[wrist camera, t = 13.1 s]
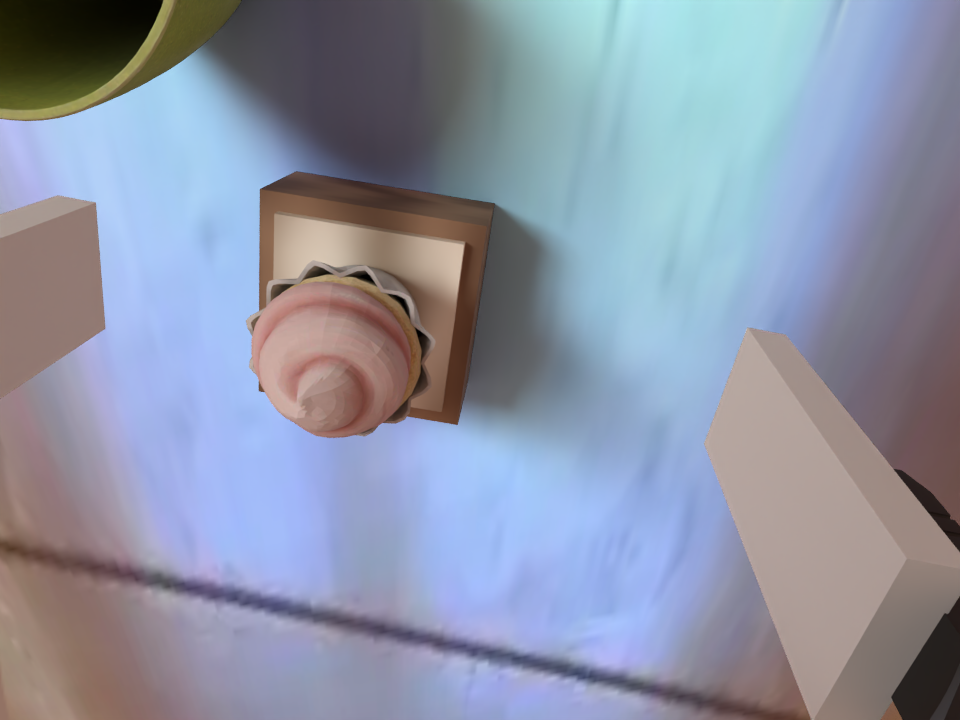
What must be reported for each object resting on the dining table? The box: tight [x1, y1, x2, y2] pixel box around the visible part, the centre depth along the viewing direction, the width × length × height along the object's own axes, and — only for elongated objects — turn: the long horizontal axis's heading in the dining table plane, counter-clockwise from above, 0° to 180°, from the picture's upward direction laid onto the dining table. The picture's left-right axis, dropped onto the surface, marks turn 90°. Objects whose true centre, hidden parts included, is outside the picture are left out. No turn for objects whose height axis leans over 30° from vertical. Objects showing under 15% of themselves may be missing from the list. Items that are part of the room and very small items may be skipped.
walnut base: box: [259, 171, 495, 425], centre depth 40 cm, size 12×12×6 cm
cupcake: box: [246, 260, 435, 438], centre depth 33 cm, size 9×9×10 cm
